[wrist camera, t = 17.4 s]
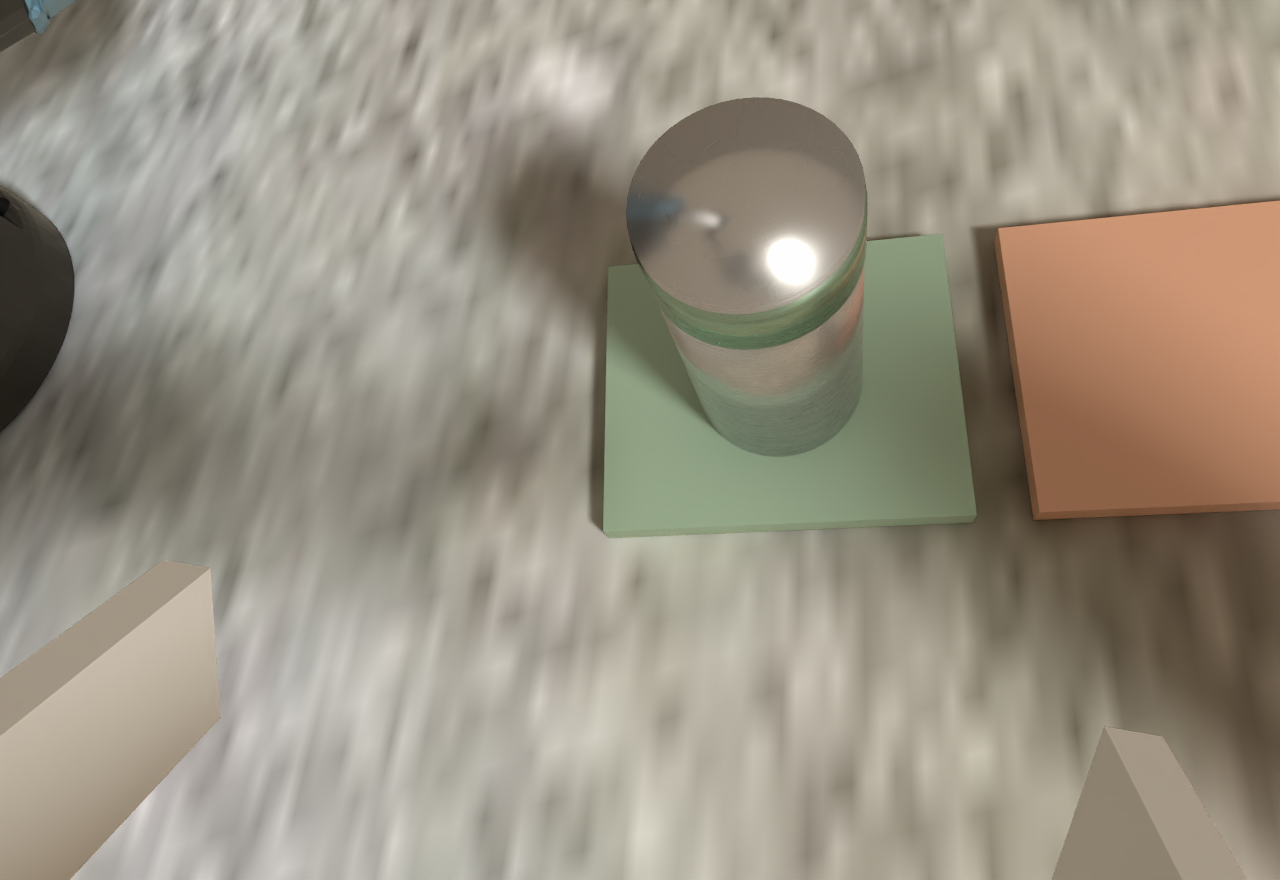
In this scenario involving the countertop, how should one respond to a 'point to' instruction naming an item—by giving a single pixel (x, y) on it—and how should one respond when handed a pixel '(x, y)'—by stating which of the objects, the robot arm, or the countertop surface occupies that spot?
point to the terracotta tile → (1147, 360)
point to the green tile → (808, 482)
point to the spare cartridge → (758, 267)
